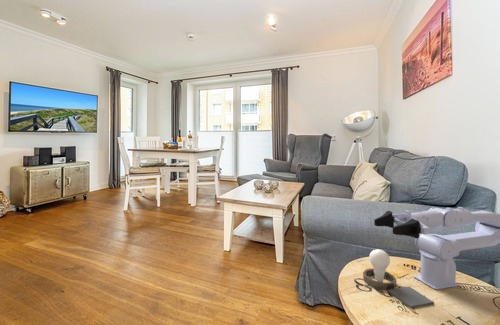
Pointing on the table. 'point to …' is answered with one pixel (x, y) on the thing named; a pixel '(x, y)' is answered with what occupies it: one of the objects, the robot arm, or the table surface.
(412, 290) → the mat
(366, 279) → the collar
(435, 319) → the table surface
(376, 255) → the lightbulb
